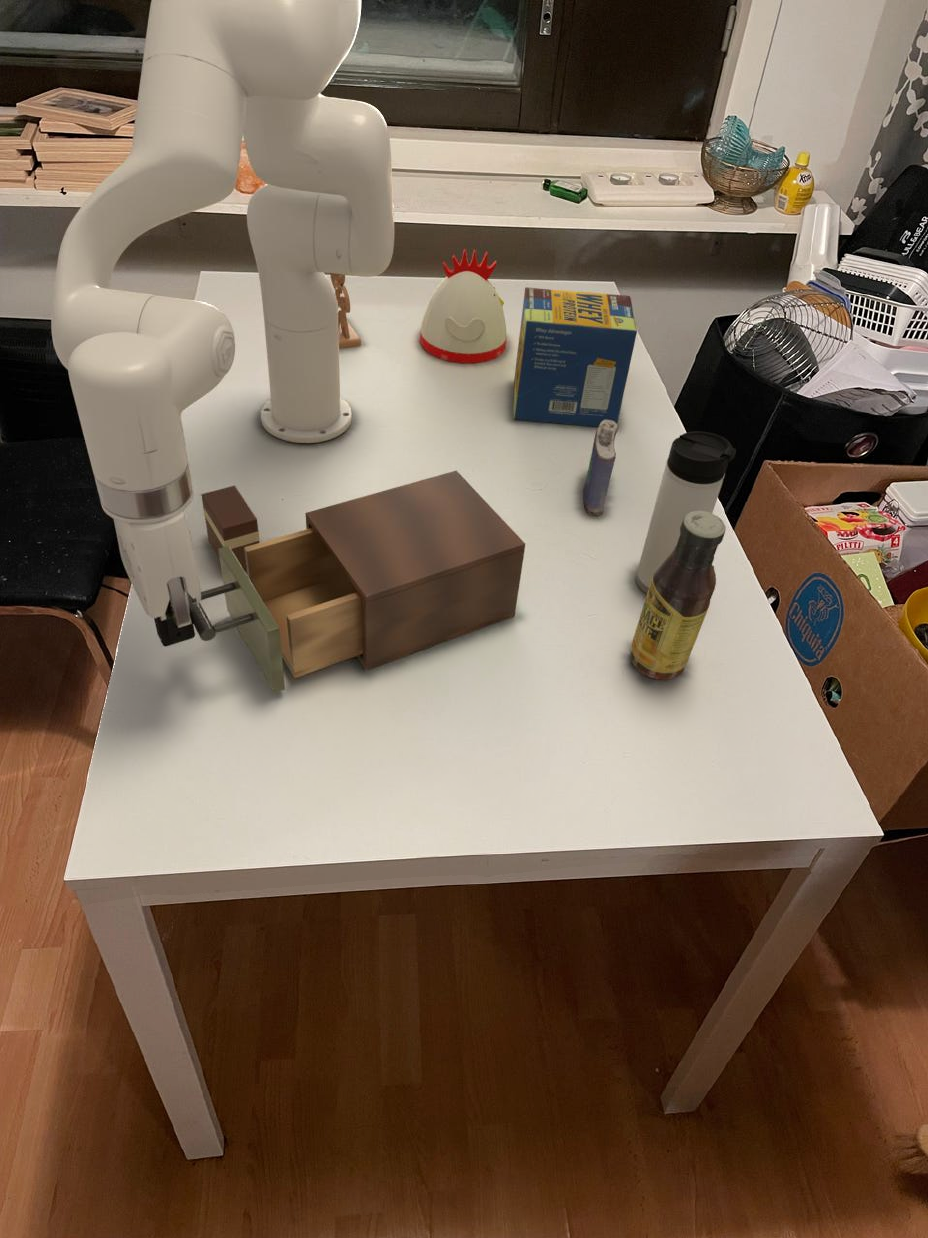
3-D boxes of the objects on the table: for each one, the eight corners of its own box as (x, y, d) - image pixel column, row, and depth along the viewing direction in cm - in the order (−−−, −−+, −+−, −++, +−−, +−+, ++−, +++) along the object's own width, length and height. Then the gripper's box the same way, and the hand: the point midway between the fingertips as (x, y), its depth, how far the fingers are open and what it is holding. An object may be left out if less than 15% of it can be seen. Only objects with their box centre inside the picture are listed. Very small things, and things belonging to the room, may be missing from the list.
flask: (603, 517, 118) (618, 446, 111) (580, 514, 118) (594, 443, 111) (606, 476, 125) (621, 407, 117) (584, 473, 125) (598, 404, 118)
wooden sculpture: (361, 345, 146) (361, 271, 138) (338, 348, 145) (336, 274, 136) (343, 319, 152) (341, 247, 143) (320, 322, 150) (317, 249, 142)
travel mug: (678, 609, 107) (724, 466, 93) (626, 586, 109) (664, 443, 95) (698, 580, 111) (745, 439, 97) (648, 559, 113) (687, 417, 99)
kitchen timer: (505, 366, 144) (516, 272, 134) (418, 359, 144) (421, 265, 134) (504, 325, 154) (514, 235, 144) (422, 318, 154) (426, 228, 144)
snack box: (229, 576, 105) (222, 529, 100) (208, 541, 110) (200, 493, 105) (262, 566, 107) (257, 519, 102) (241, 532, 111) (234, 484, 106)
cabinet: (366, 670, 96) (365, 596, 89) (309, 586, 105) (305, 512, 98) (514, 616, 104) (525, 543, 97) (450, 541, 113) (456, 469, 105)
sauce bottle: (623, 642, 102) (662, 497, 88) (677, 641, 103) (725, 498, 89) (635, 686, 98) (678, 541, 84) (692, 685, 98) (744, 542, 84)
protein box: (512, 383, 141) (523, 285, 130) (612, 392, 141) (632, 294, 130) (512, 420, 133) (524, 319, 122) (617, 429, 134) (639, 329, 123)
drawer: (222, 712, 90) (211, 650, 84) (178, 625, 98) (165, 563, 92) (427, 638, 99) (430, 577, 93) (372, 564, 107) (372, 504, 101)
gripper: (76, 447, 80) (116, 601, 93) (124, 547, 71) (162, 702, 84) (162, 428, 83) (190, 579, 96) (218, 521, 74) (241, 675, 87)
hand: (176, 636), depth 90 cm, fingers closed
